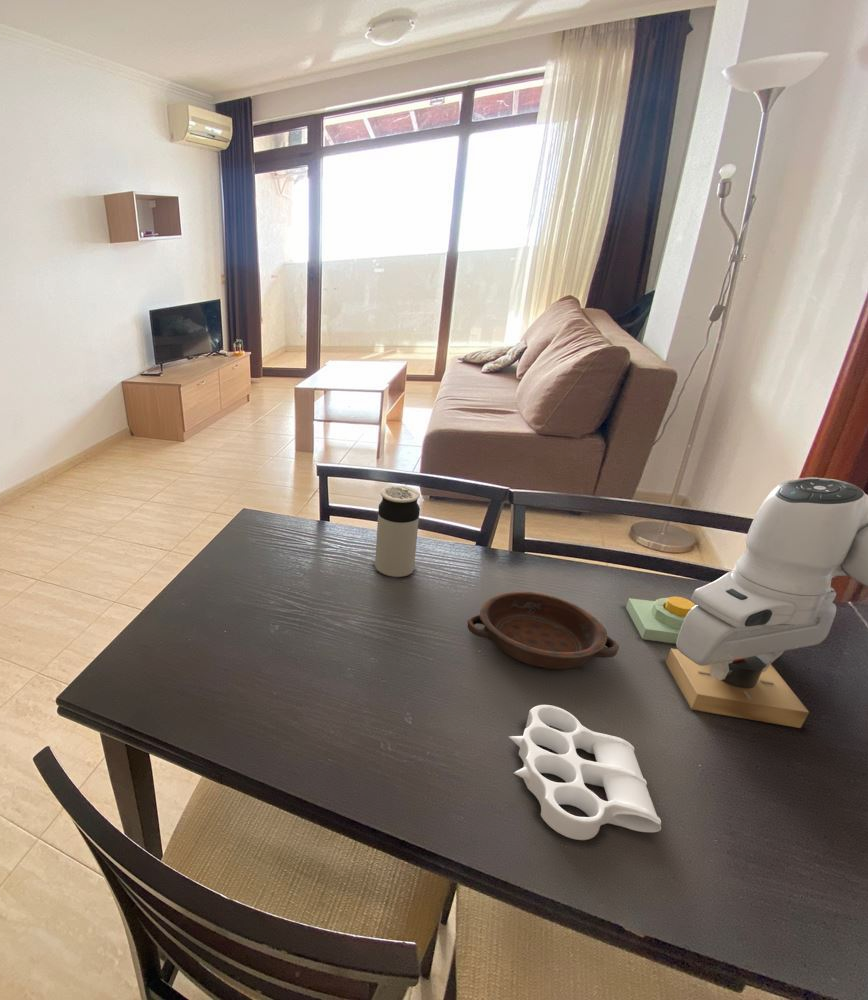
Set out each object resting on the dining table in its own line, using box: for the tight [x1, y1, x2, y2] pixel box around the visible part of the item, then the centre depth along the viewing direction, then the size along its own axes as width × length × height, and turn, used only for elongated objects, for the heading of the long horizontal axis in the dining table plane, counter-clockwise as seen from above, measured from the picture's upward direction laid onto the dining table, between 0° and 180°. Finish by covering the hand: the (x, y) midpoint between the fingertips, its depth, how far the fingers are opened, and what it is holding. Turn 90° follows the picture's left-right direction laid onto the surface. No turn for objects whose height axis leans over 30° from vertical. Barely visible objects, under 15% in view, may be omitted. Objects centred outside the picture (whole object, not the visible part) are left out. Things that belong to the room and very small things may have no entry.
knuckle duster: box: [508, 704, 662, 841], centre depth 69 cm, size 3×18×15 cm
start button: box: [665, 596, 696, 617], centre depth 91 cm, size 4×4×2 cm
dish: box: [466, 590, 620, 670], centre depth 91 cm, size 18×22×5 cm
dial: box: [723, 656, 764, 688], centre depth 78 cm, size 4×4×4 cm
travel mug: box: [374, 485, 421, 578], centre depth 113 cm, size 8×8×18 cm
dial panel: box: [665, 648, 810, 729], centre depth 79 cm, size 12×10×3 cm
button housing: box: [625, 597, 685, 645], centre depth 92 cm, size 11×9×4 cm
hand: (736, 673), depth 78 cm, fingers closed on dial, 4 cm apart
